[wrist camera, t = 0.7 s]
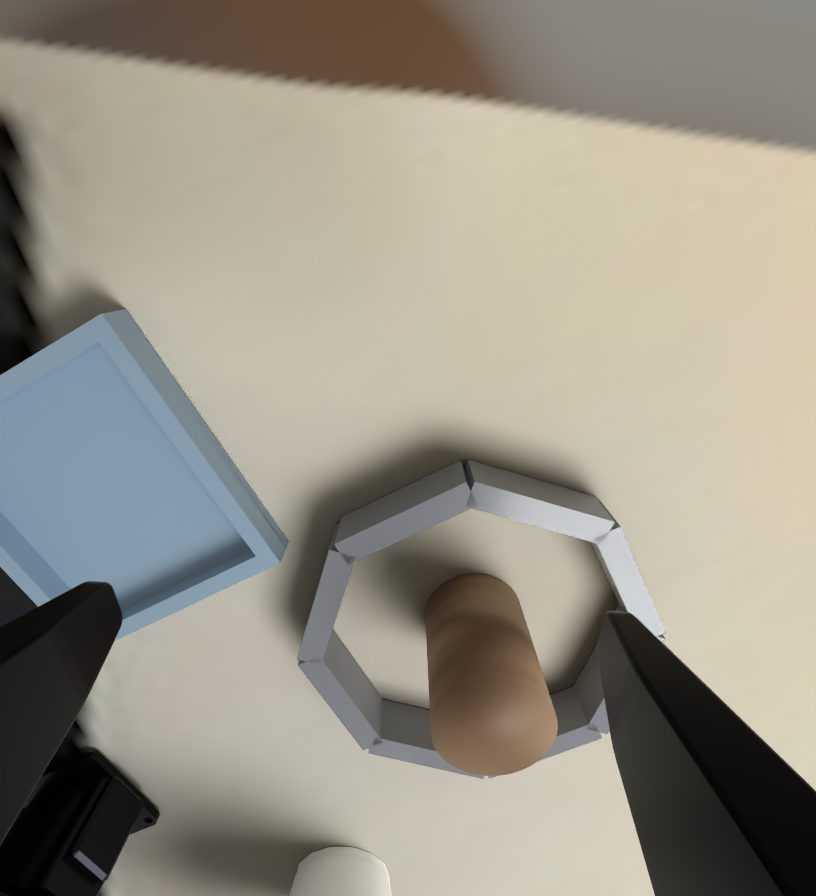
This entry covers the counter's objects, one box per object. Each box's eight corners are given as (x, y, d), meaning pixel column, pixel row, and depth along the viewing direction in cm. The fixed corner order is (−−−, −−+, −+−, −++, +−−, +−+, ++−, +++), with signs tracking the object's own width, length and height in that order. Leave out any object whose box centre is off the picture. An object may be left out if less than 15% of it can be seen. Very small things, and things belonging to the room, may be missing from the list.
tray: (104, 630, 27) (84, 655, 25) (-77, 431, 23) (-115, 445, 21) (288, 542, 25) (280, 562, 23) (126, 309, 21) (101, 313, 19)
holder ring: (407, 765, 30) (407, 808, 28) (255, 558, 25) (239, 588, 23) (672, 666, 28) (696, 704, 25) (561, 411, 23) (578, 429, 20)
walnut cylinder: (450, 664, 28) (464, 790, 21) (408, 597, 26) (408, 710, 20) (535, 630, 27) (576, 750, 20) (496, 558, 25) (527, 663, 19)
